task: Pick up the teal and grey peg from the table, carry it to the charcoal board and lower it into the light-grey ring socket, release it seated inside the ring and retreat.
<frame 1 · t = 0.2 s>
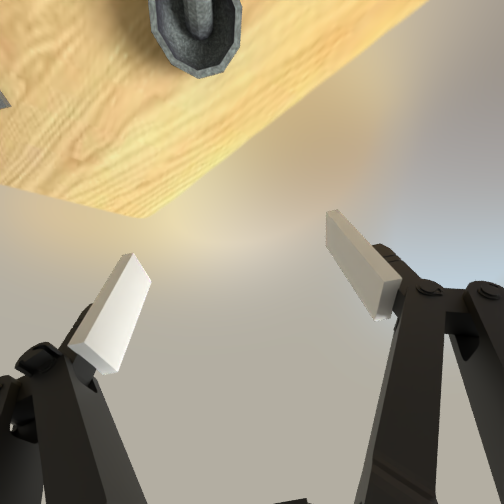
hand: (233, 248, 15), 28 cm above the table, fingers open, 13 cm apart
mortar and pestle: (201, 25, 29), on the table
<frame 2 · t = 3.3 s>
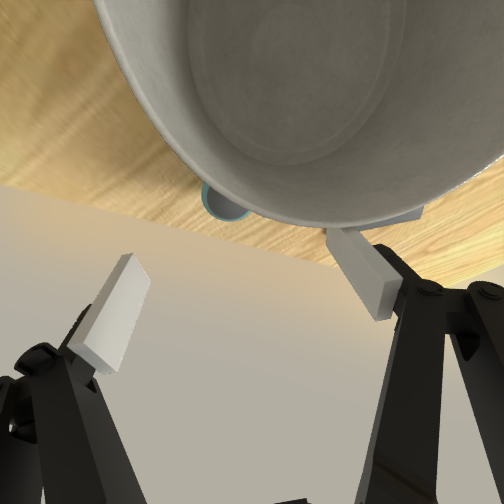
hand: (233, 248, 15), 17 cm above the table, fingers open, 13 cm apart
planter: (288, 61, 22), on the table
holder: (379, 182, 31), on the table
teal and grey peg: (228, 171, 29), on the table
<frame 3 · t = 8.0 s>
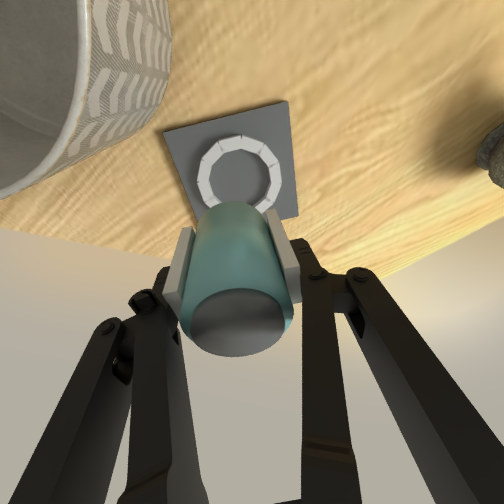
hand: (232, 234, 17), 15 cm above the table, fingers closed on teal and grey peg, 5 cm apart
planter: (65, 21, 20), on the table
mortar and pestle: (502, 139, 30), on the table
holder: (239, 178, 29), on the table
teal and grey peg: (232, 234, 17), point 14 cm above the table, touching gripper
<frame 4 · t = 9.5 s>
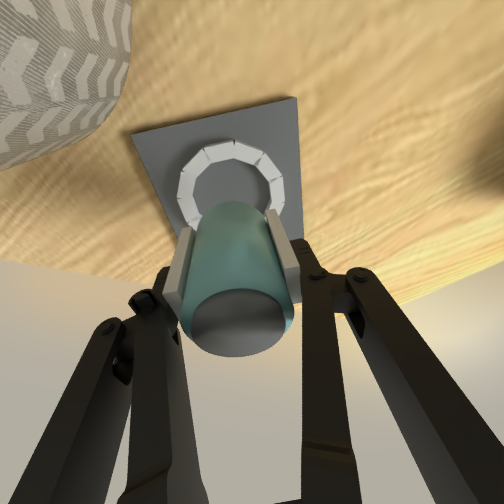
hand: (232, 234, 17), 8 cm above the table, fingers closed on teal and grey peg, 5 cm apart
holder: (232, 193, 23), on the table
teal and grey peg: (233, 234, 17), point 7 cm above the table, touching gripper
when the fingers open (3 cm above the table, at t = 10.7 s): teal and grey peg drops 2 cm, resting on holder.
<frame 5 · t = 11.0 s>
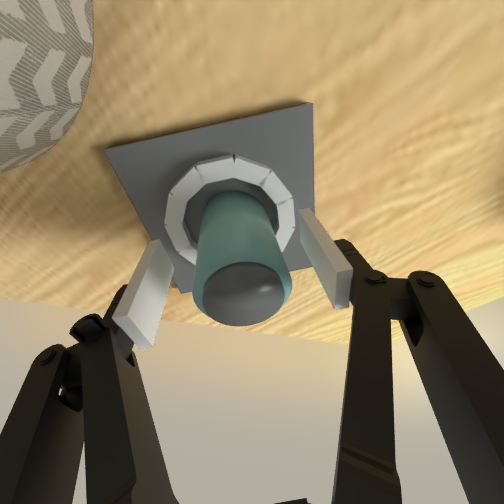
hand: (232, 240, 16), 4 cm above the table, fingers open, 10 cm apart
holder: (231, 216, 19), on the table
teal and grey peg: (234, 222, 19), point 1 cm above the table, touching holder
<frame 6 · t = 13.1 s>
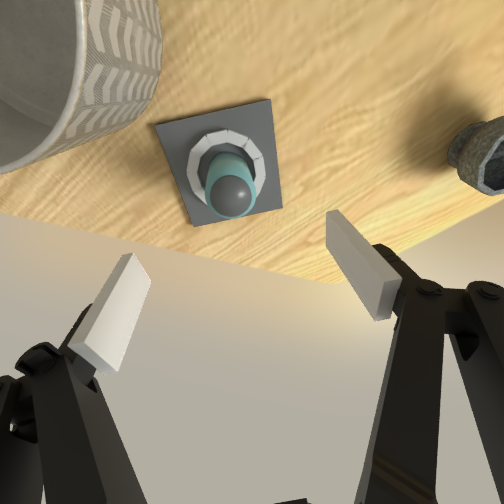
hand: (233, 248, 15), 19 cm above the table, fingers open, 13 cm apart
planter: (65, 20, 22), on the table
mortar and pestle: (471, 140, 33), on the table
holder: (226, 170, 31), on the table
teal and grey peg: (228, 173, 31), point 1 cm above the table, touching holder
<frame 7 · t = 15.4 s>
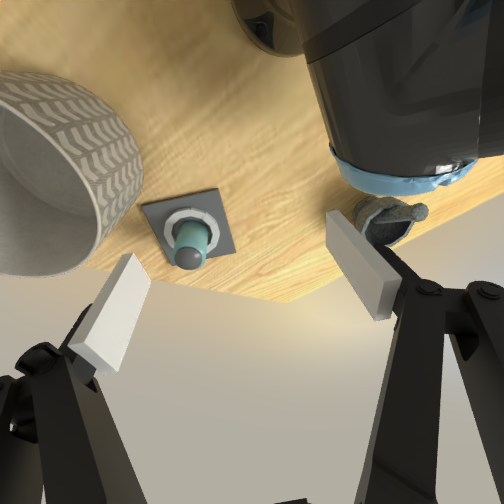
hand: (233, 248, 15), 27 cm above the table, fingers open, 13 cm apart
planter: (84, 152, 35), on the table
mortar and pestle: (368, 207, 46), on the table
holder: (193, 229, 44), on the table
teal and grey peg: (194, 232, 44), point 1 cm above the table, touching holder
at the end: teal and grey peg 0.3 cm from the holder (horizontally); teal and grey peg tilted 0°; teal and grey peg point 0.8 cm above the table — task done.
